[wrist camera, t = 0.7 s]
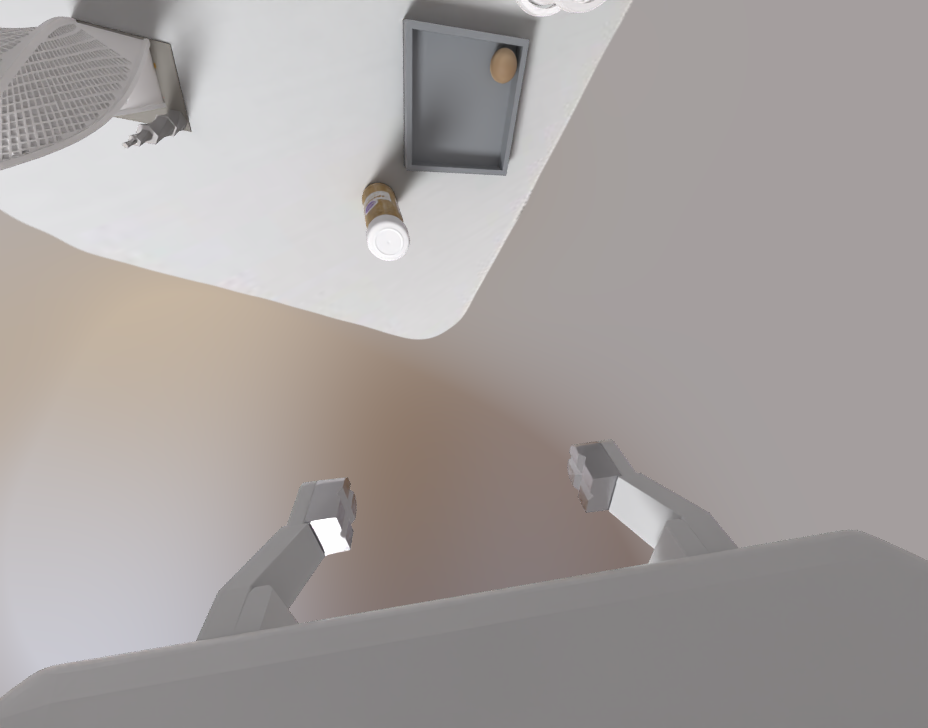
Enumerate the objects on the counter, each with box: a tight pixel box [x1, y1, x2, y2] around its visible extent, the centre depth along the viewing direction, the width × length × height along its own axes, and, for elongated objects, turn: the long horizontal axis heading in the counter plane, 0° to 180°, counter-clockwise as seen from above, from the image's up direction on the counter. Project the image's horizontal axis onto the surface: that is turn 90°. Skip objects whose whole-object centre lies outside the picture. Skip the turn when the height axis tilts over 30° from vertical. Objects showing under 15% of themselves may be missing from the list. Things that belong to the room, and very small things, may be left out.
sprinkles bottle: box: [362, 183, 410, 261], centre depth 41 cm, size 5×4×13 cm
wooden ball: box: [490, 48, 517, 84], centre depth 38 cm, size 3×3×3 cm
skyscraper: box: [0, 17, 191, 170], centre depth 23 cm, size 8×8×28 cm
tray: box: [403, 19, 529, 176], centre depth 40 cm, size 13×13×2 cm
